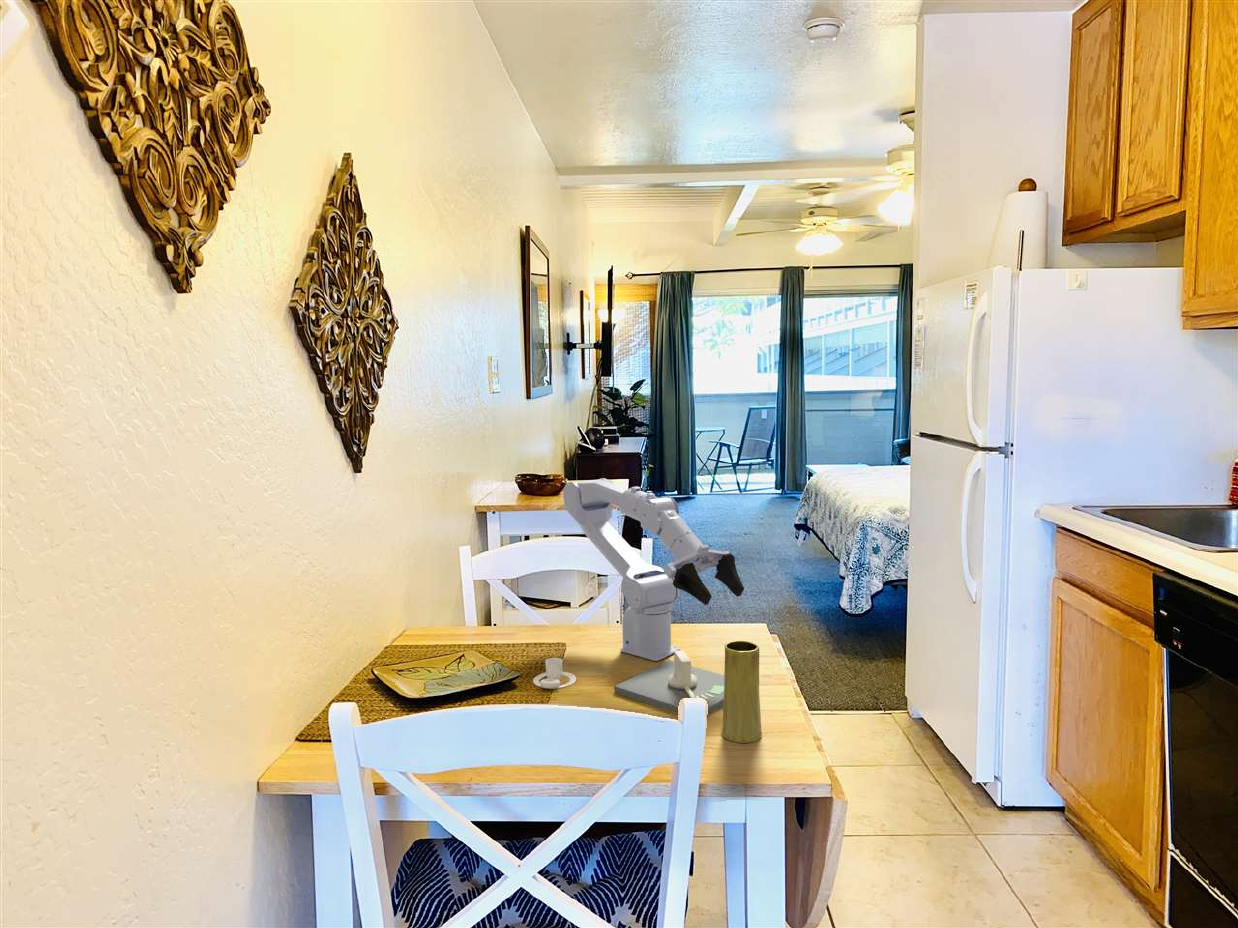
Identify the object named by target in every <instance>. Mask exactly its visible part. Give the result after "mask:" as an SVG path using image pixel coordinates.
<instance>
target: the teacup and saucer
mask: <svg viewBox="0 0 1238 928" xmlns="http://www.w3.org/2000/svg"><path fill="white" fill-rule="evenodd" d="M544 662H545V664H544V665H545V672H542V673H540V674H538V675H536V676H535V677H534V678H532V679H533V680H532V683H533V684H534V685H535V686H537V687H539V688H542V689H552V690H553V689H555V690H556V689H563V688H567V687H570V686H572V685H573V684H574V683H576V681H577V676H575V675H574V674H573V673H570V672H568V671H563V659H562V658H560V657H550V658H547V659H545V660H544ZM562 676H565V677H567V678H569V681H568V682H567V683H564V684H561V678H562ZM544 677H546V678H544ZM543 678H544V679H543ZM539 680H540V681H539ZM539 682H540V683H539Z"/></svg>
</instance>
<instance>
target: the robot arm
mask: <svg viewBox="0 0 1238 928" xmlns="http://www.w3.org/2000/svg"><path fill="white" fill-rule="evenodd" d="M562 499H563V505H564V509H565V511H567V513H568V514H569V515H570V516H571V517H572V518H573V519H574V521H576V523H578V525H579V526H580V528H581V530H582V532H583V533H584V535H585V536H586V537H587V538H588V539H589V541H590V542H591V544H593V545H594V547H595V548H596V549H597V550H598V551H599V553H601V554H602V555H603V557H605V559H606V560H607V561H608V563H610V565H612V566H613V568H614V569H615V570H616V571H617V572H618V574H619V575H620V576H621V577H622V579H621V583H620V592H621V593H622V594H623V595H624V597H625V600H626V602H627V605H628V607H627V608H626V609H625V611H624V613H623V616H622V622H621V623H622V647H621V648H620V649H619V651H620V652H621V653H622V652H623V653H625V654H629V655H632V656H637V657H639V658H643V659H646V660H650V661H653V662H659V661H661V660H662V659H665V658H667V657H669V656H671V655H673V654H674V651H679V650H681V647H678V646H674V645H672V632H671V631H672V625H671V624H672V622H671V621H672V618H671V617H672V616H671V615H672V614H671V613H672V612H671V611H672V609H674V607H675V606H674V603H676V602H677V601H678V599H679V596H680V590H681V591H684V592H686V593H687V594H688V595H691V596H692V597H694V598H695V599H696V600H697V601H699V602H700V603H701V604H703V605H704V606H708V605H709V603H710V601H711V599H712V597H713V595H712V594H711V592H710V590H709V589H708V588H707V586H706V585H705V584H704V582H703V581H702V579H701V577H700V576H699V574H700V573H703V572H704V571H706V570H709V569H710V568H714V567H716V568H715V570H716V573H715V575H714V577H713V578H714V579H716V580H718V581H719V582H721V583H722V584H723V585H725V586H726V587H727V588H728V590H730V591H731V592H732V594H733V595H735V597H737V598H738V597H741V596H742V594H743V593H744V590H745V586H744V584H742V581H741V578H740V576H739V574H738V570H737V567H736V560H735V556H734V554H733V553H731V552H730V551H729V550H726V551H722V550H715V549H710V546H709V545H708V544H703V542H702V541H701V540H700V539H699V537H697V535H696V534H695V533H694V532H693V531H692V529H691V528H690V527H689V525H688V524H687V523H686V521H684V519H683V518H682V517H681V516H680V507H679V505H678V503H677V501H676V500H675V499H674V498H672V497H671V495H666V496H663V497H658V496H656V494H655V493H653V492H649V493H648V492H645V491H642V488H641V487H640V486H632V487H630V488H628V489H623V488H621V487H619V486H618V485H615V484H614V483H612V481H611V479H607V478H606V477H605V478H604V477H602V478H599V479H590V480H581V481H568V482H567V483H566V484H565V485H564V487H563V491H562ZM614 505H615V506H617V507H619V510H620V512H621V513H622V514H623V515H625V516H627V517H629V518H631V519H634V520H636V521H639V523H640V527H641V528H642V529H644V530H645V531H650V532H651V533H652V535H653V536H656V537H658V539H659V540H660V541H661V542H662V544H663V545H664V547H665V548H666V549H667V550H668V552H669V553H670V554H671V556H672V557H673V558H674V559H675V561H672V562H669V563H666V565H665V567H664V569H663V568H662V567H660V566H657V565H654V564H651V563H650V564H649V563H646V562H645V560H644V559H643V558H642V557H641V556H640V554H638V553H637V552H636V551H635V550H634V548H632V547H631V545H630V544H629V543H628V542H627V541H626V540H625V539H624V538H623V537H622V536H621V535H620V534H619V532H618V531H617V530H616V529H615V528H614V527H613V526H612V525H611V524H610V523H609V522H608V521H610V519H611V518H612V517H613V506H614Z"/></svg>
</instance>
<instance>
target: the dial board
mask: <svg viewBox="0 0 1238 928" xmlns="http://www.w3.org/2000/svg"><path fill="white" fill-rule="evenodd" d="M674 673H675V672H674V660H670V659H668V660H667V661H664V662H662V663H660V664H657V665H655V666H654V667H651V668H649V669H648V670H645V671H643V672H641V673H639V674H637V675H635V676H633V677H631V678H628V679H626V680H624V681H622V682H620V683H618V684H616V685H614V687H613V688H614V689H613V690H614V693H615V694H618V695H620V696H623V697H627V698H630V699H631V700H636V701H638V702H642V703H644V704H648V705H650V706H653V707H657V708H660V709H663V710H665V711H666V710H667V711H669V712H671V713H675V714H678V706H679V702H680V700H681V699H683V698H690V697H689V695H688V694H687V692H686V691H685V689H677V688H673V687H671V686H670V685H669V683H668V677H669V676H670V675H672V674H674ZM691 674H693V675H695V676H696V677H697V685H696V686H695V687H693V688H690V690H691V691H692V693H693V694H694V696H695V697H696V698H703V699H705V700H706V701H707V704H708V715H707V716H709V715H711V714H712V713H714V712H716V711H718V710H719V709H720V708H723V703H724V674H721V673H717V672H713V671H711V670H710V671H709V670H706V669H703V668H700V667H696V666H692V665H691Z"/></svg>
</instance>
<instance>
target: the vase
mask: <svg viewBox="0 0 1238 928" xmlns="http://www.w3.org/2000/svg"><path fill="white" fill-rule="evenodd" d="M723 673H724V674H723V675H724V703H723V706H722V729H721V734H722V736H723V737H724V738H725V739H726V740H728V741H730V742H733V743H736V744H737V743H738V744H751V743H755V742H756V741H759V740H760V739H761V738H762V721H761V720H762V719H761V699H760V647H759V645H758V644H757V643H756V642H754V641H749V640H744V639H743V640H742V639H741V640H739V639H738V640H731V641H728V642H726V643H725V644H724V672H723Z"/></svg>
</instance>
